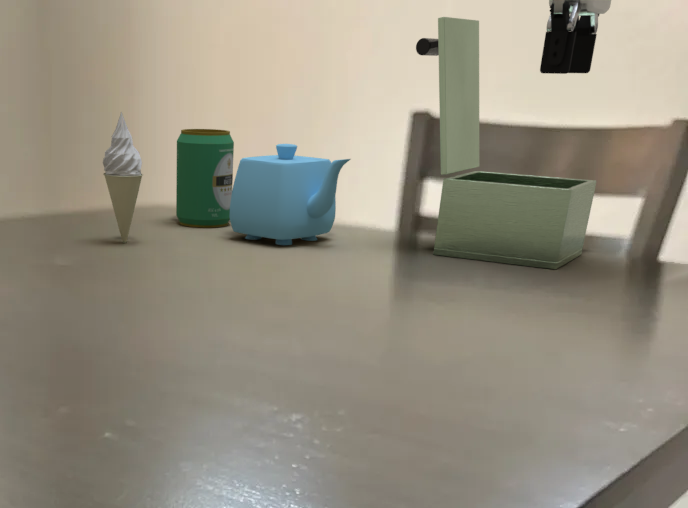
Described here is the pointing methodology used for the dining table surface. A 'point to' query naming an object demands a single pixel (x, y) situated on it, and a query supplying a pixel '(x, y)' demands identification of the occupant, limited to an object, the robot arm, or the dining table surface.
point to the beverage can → (204, 177)
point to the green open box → (513, 218)
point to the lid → (457, 91)
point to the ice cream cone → (123, 176)
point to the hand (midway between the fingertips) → (565, 73)
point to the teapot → (284, 196)
